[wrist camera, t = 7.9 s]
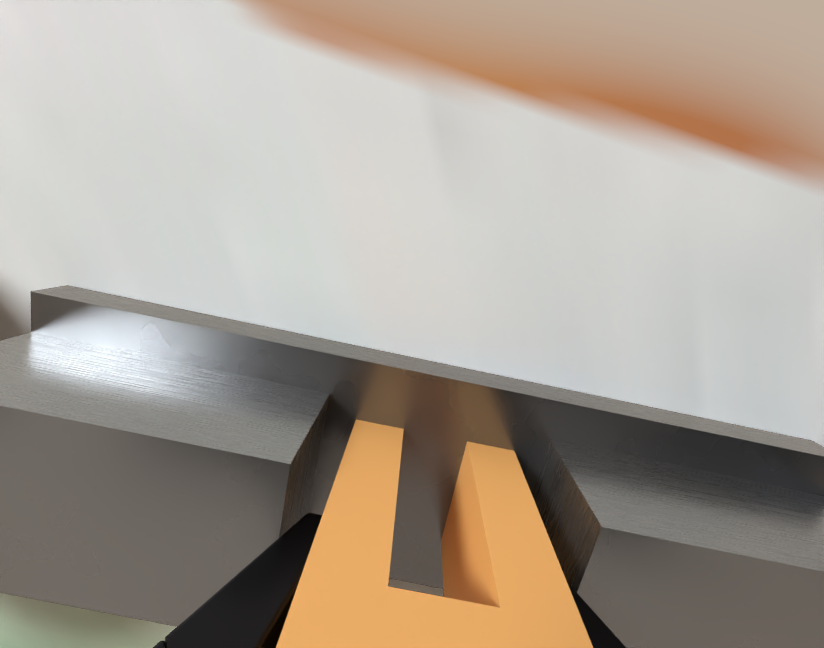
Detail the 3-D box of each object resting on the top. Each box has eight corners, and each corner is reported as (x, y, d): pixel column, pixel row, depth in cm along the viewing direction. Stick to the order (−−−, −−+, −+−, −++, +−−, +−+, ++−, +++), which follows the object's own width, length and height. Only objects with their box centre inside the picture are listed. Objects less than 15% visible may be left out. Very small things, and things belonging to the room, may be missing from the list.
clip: (513, 450, 10) (637, 759, 4) (485, 550, 11) (557, 932, 5) (355, 419, 10) (260, 692, 4) (337, 521, 11) (233, 874, 5)
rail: (812, 440, 11) (1028, 560, 7) (725, 615, 12) (864, 796, 8) (67, 285, 10) (-144, 320, 7) (66, 485, 12) (-108, 611, 8)
